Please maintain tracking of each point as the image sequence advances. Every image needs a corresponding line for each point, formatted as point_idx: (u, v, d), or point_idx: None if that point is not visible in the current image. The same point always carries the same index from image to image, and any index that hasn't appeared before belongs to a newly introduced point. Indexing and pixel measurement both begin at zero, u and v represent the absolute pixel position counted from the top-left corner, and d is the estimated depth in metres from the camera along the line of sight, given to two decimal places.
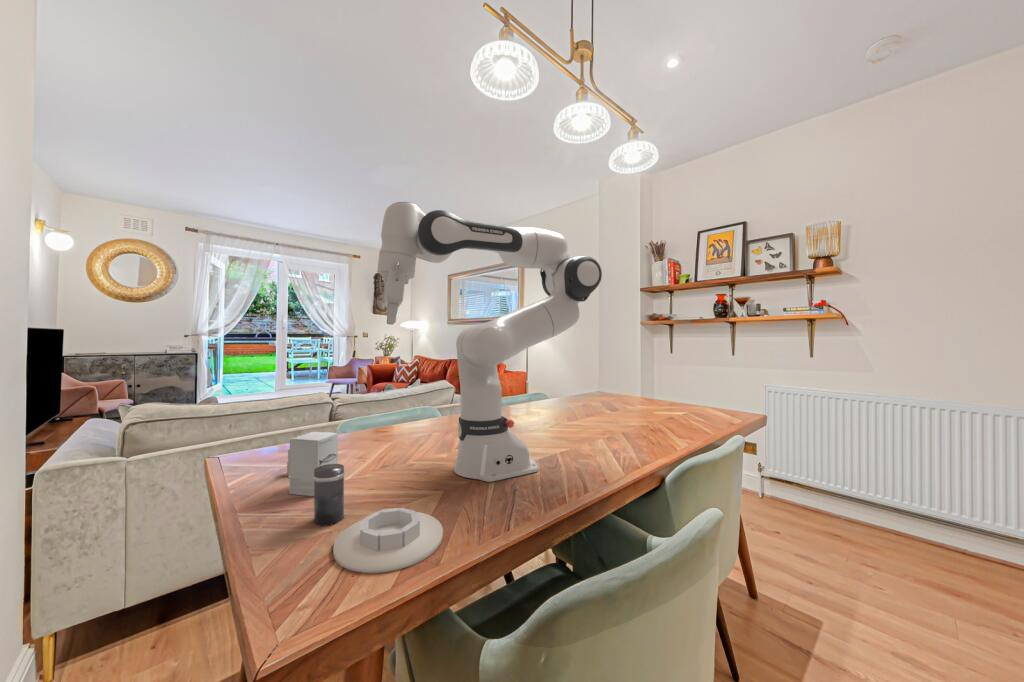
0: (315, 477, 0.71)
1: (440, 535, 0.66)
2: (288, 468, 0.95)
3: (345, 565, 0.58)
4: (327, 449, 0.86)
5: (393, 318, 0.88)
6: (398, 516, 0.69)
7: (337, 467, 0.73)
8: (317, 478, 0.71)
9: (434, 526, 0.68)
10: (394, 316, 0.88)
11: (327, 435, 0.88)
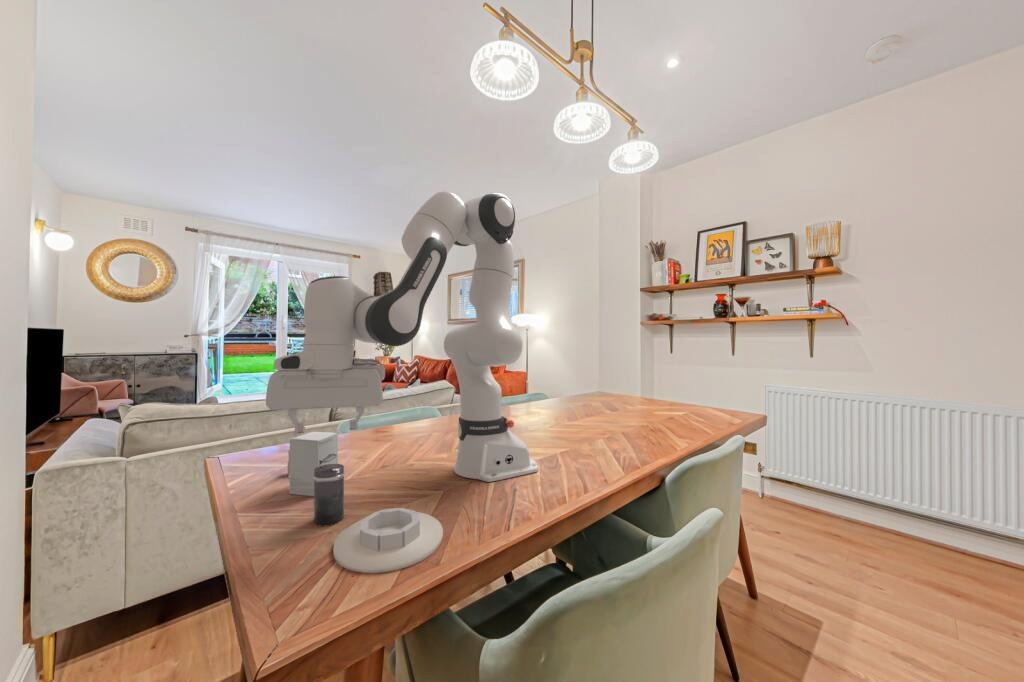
0: (315, 477, 0.71)
1: (440, 535, 0.66)
2: (288, 468, 0.95)
3: (345, 565, 0.58)
4: (327, 449, 0.86)
5: None
6: (398, 516, 0.69)
7: (337, 467, 0.73)
8: (317, 478, 0.71)
9: (434, 526, 0.68)
10: None
11: (327, 435, 0.88)
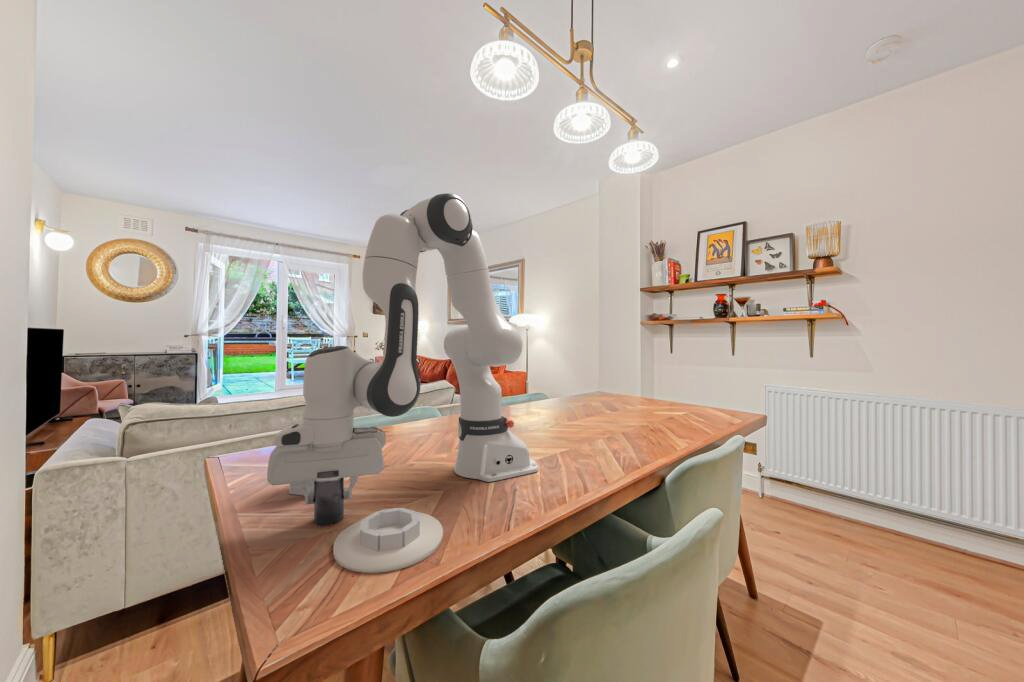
0: None
1: (440, 535, 0.66)
2: None
3: (345, 565, 0.58)
4: None
5: (351, 491, 0.75)
6: (398, 516, 0.69)
7: None
8: (317, 478, 0.71)
9: (434, 526, 0.68)
10: None
11: None
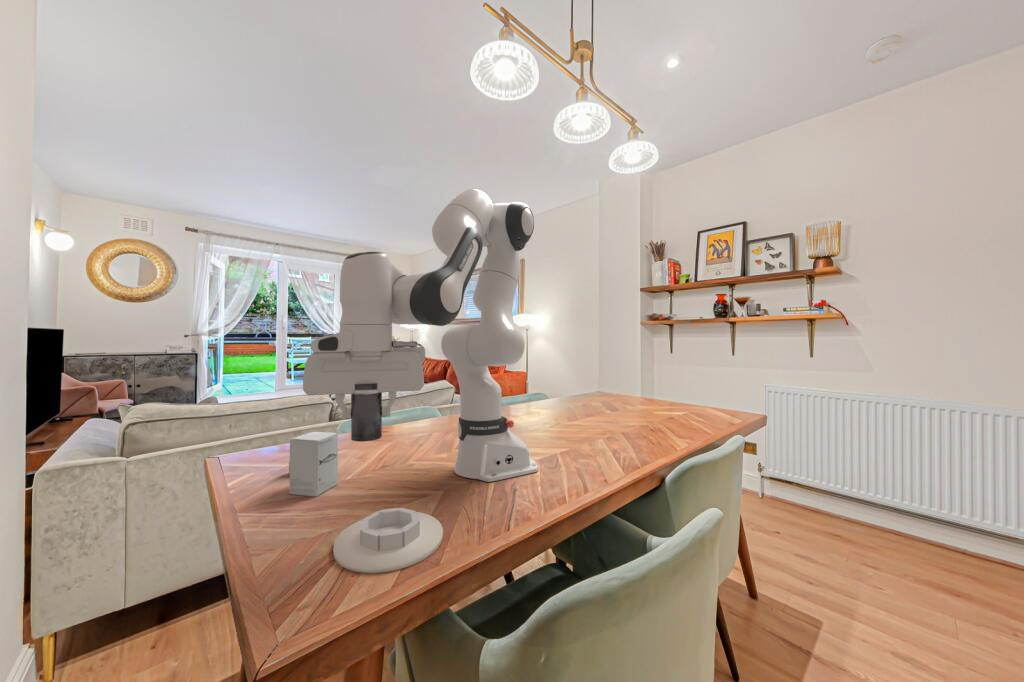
0: None
1: (440, 535, 0.66)
2: None
3: (345, 565, 0.58)
4: (327, 449, 0.86)
5: None
6: (398, 516, 0.69)
7: None
8: (355, 390, 0.66)
9: (434, 526, 0.68)
10: None
11: (327, 435, 0.88)
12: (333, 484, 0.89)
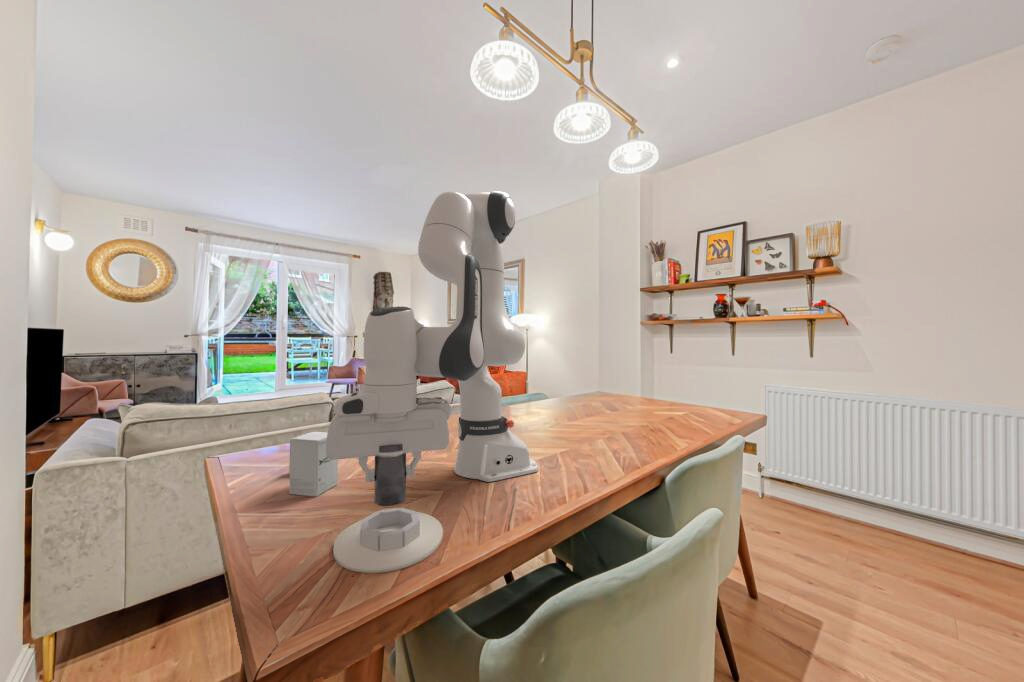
0: None
1: (440, 535, 0.66)
2: None
3: (345, 565, 0.58)
4: None
5: None
6: (398, 516, 0.69)
7: None
8: (380, 452, 0.63)
9: (434, 526, 0.68)
10: None
11: None
12: (333, 484, 0.89)
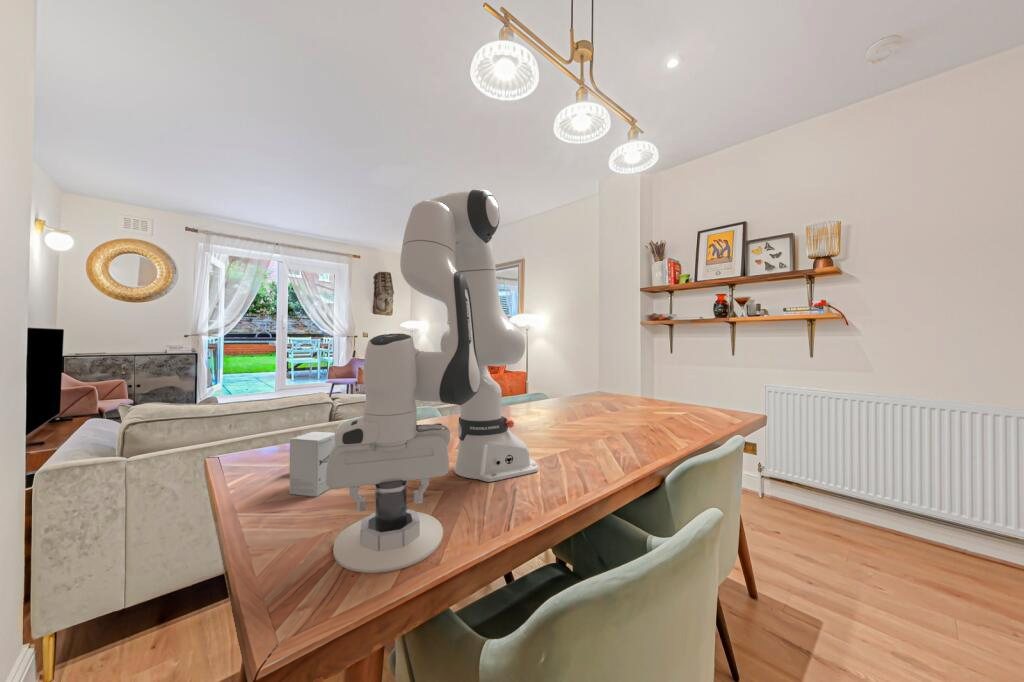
0: (377, 488, 0.64)
1: (440, 535, 0.66)
2: None
3: (345, 565, 0.58)
4: (327, 449, 0.86)
5: None
6: None
7: None
8: (380, 489, 0.63)
9: (434, 526, 0.68)
10: None
11: (327, 435, 0.88)
12: None
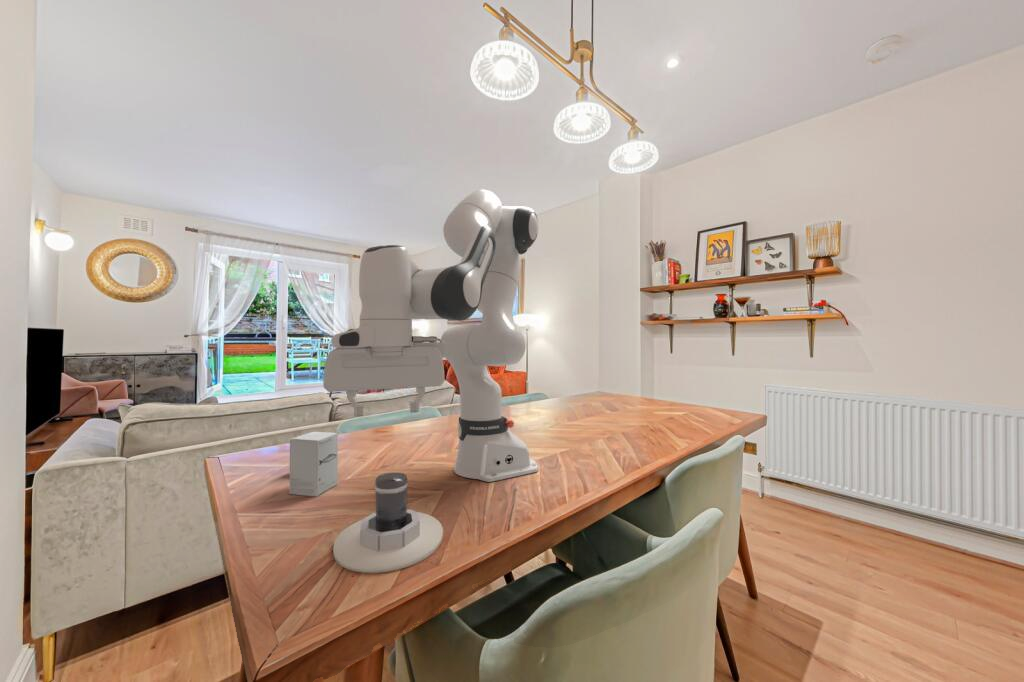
0: (378, 488, 0.63)
1: (440, 535, 0.66)
2: None
3: (345, 565, 0.58)
4: (327, 449, 0.86)
5: None
6: None
7: (400, 477, 0.66)
8: (381, 489, 0.63)
9: (434, 526, 0.68)
10: None
11: (327, 435, 0.88)
12: (333, 484, 0.89)
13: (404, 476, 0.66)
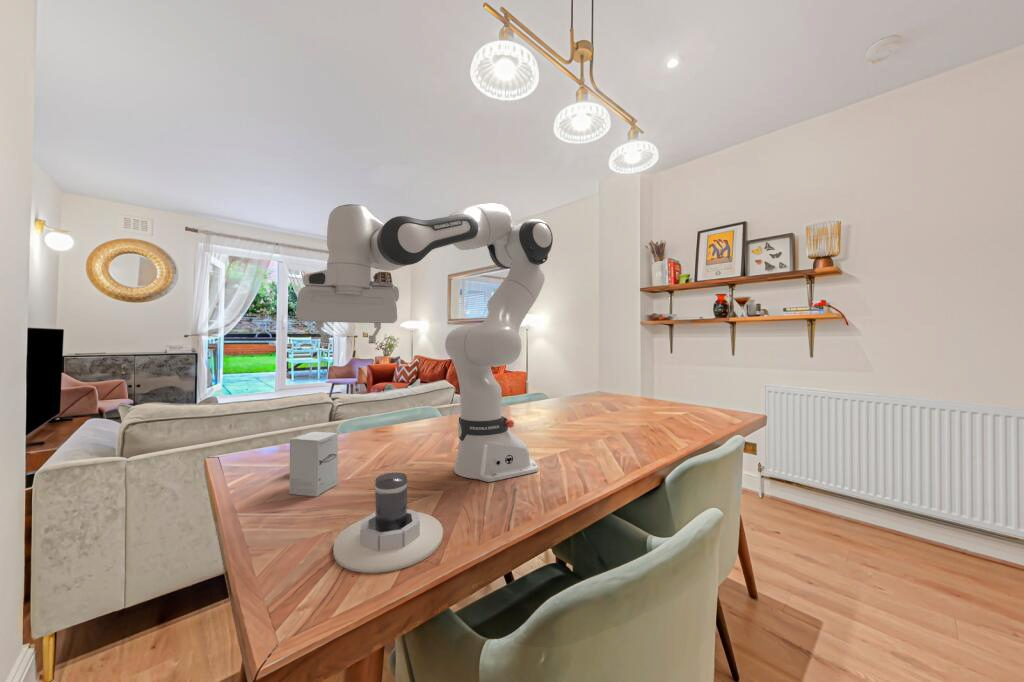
0: (378, 488, 0.63)
1: (440, 535, 0.66)
2: None
3: (345, 565, 0.58)
4: (327, 449, 0.86)
5: None
6: None
7: (400, 477, 0.66)
8: (380, 489, 0.63)
9: (434, 526, 0.68)
10: None
11: (327, 435, 0.88)
12: (333, 484, 0.89)
13: (404, 476, 0.66)
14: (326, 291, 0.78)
